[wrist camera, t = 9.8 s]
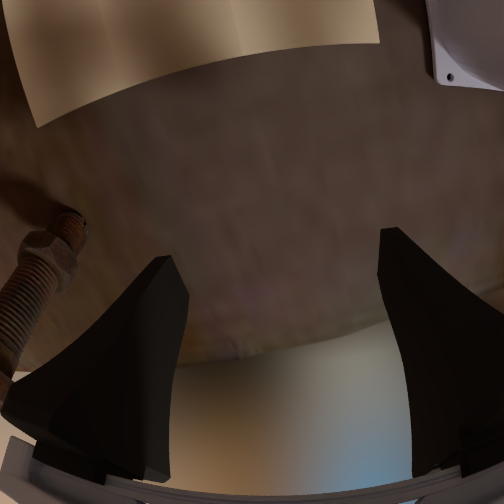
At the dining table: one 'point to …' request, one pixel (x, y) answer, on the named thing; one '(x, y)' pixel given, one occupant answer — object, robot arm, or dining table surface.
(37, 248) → the bolt
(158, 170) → the dining table surface
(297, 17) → the birch block
